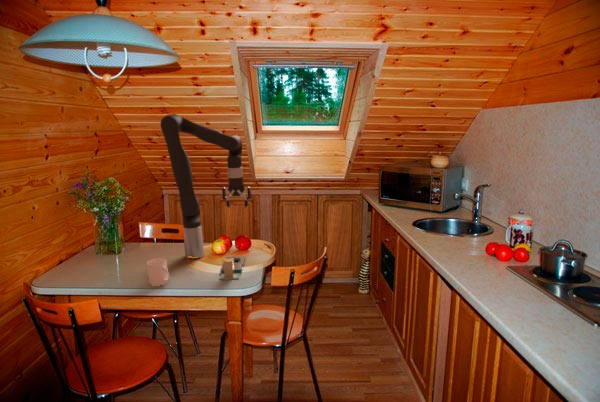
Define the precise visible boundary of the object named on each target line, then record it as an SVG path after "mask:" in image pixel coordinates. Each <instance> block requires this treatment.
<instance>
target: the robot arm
mask: <svg viewBox="0 0 600 402" xmlns="http://www.w3.org/2000/svg"><path fill="white" fill-rule="evenodd" d="M160 129H161V132H162V135H163V138H164V140H165V143H166V147H167V153H168V156H169V160H170V161H169V162H170V165H171V170H172V173H173V177H174V181H175V183H176V186H177V190H178V194H179V200H180V210H181V215H182V226H183V228H182V229H183V235H184V240H183V246H184V256H185V259H188V256H192V257H201V256H203V257H204V256H205V249H204V239H203V229H202V219H201V218H202V217H201V208H200V202H199V199H198V197H197V196H196V193H195V190H194V182H193V180H194V179H193V171H192V164H191V161H190V157H189V155H188V153H187V151H186V150H185V148H184V147H183V145H182V142H181V138H180V133H184V134H188V135H191V136H194V137H196V138H197V139H199V140H201V141H203V142H205V143H209V144H212V145H215V146H217V147H220V148H222V149H224V150H225V151H228V156H227V157H226V158H227V160H226V161H227V183H228V187H226V186H223V187H222V189H221V192H222V200H225V202H226V207H227V208H231V201H230V200H231V198H232V196H233V197H241V198H243V200H244V208H247V207H248V206H249V200H251V198H252V191H251V186H246V187H245V186H244V185H245V184H244V172H243V162H242V161H243V160H242V155H243V140H242V138H241V137H240V136H239V135H237V134H233V135H228V134H224V133H223V132H222V131H220V130H217V129H214V128H211V127H207V126H204V125H201V124H198V123H196V122H194V121H191V120H189V119H187V118H185V117H183V116H181V115H179V114H178V113H171V114H168V115H164V116H163V117H162V119H160ZM244 191H245V192H246V193H247V194H246V193H245V192H244ZM227 192H229V194H228V195H227V194H226V193H227ZM201 258H202V257H201Z"/></svg>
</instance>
